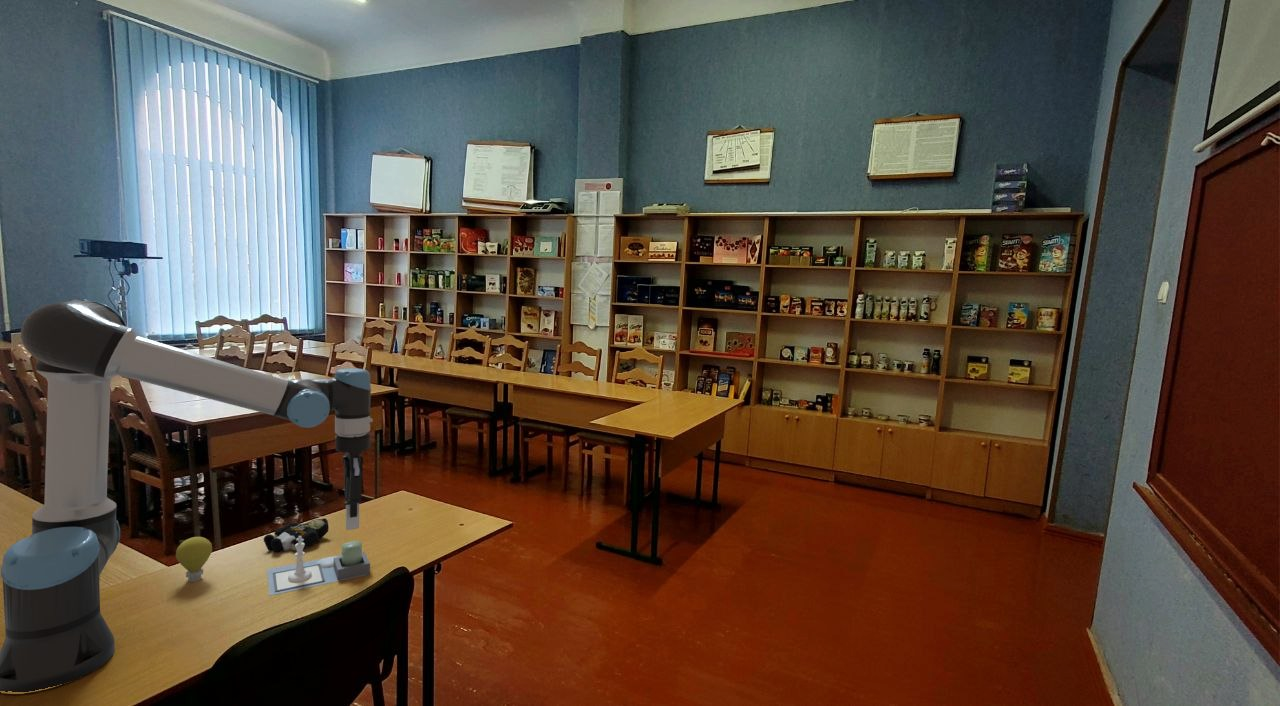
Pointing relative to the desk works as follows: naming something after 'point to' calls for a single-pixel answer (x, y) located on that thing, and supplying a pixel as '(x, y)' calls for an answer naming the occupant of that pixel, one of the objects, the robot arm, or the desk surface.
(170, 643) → the desk surface
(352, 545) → the button
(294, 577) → the chess piece
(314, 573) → the board
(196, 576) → the light bulb
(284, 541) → the toy
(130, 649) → the desk surface
